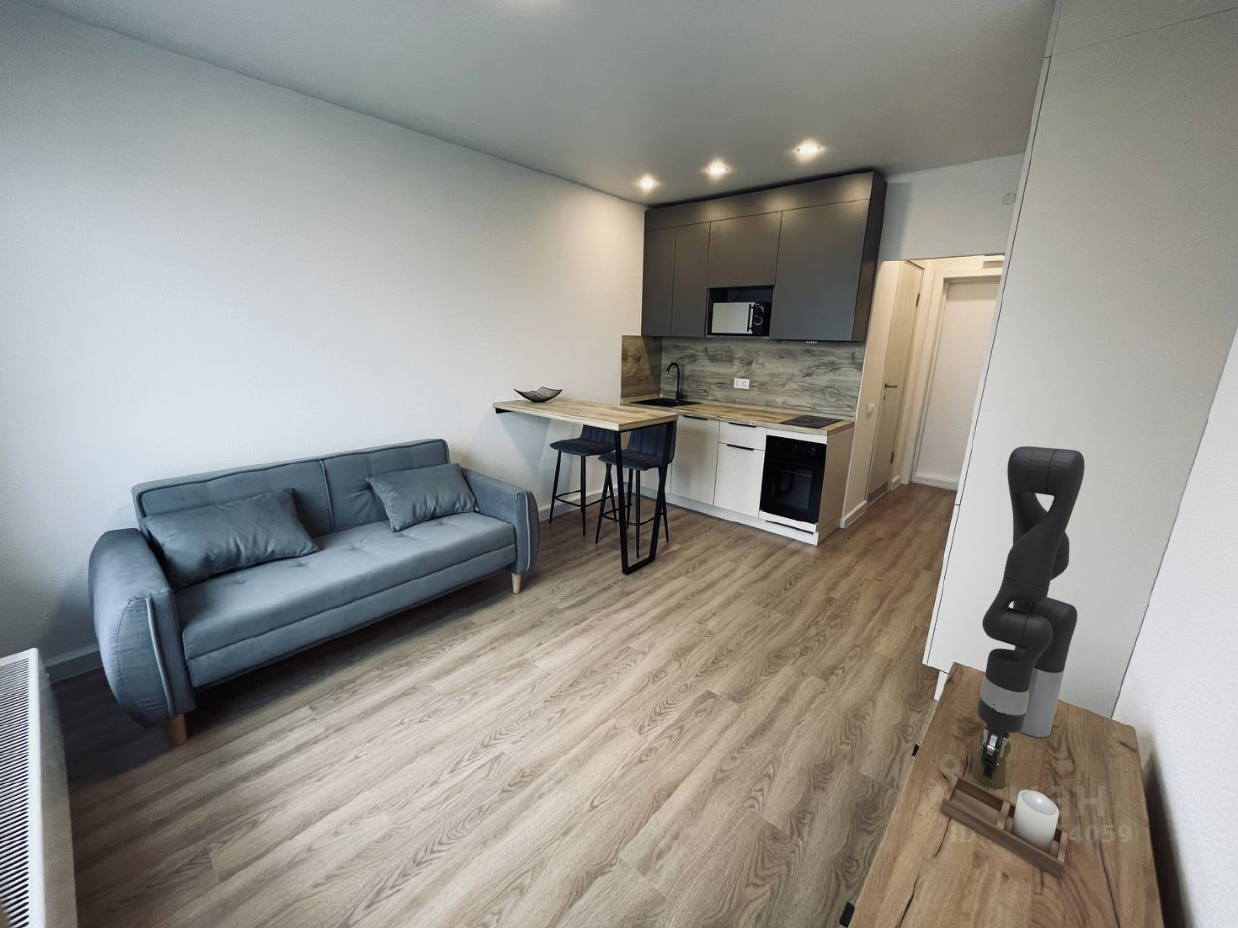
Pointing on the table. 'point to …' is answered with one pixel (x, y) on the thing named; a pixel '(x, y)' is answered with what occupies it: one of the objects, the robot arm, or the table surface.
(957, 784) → the caddy
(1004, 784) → the pepper shaker
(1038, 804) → the salt shaker
